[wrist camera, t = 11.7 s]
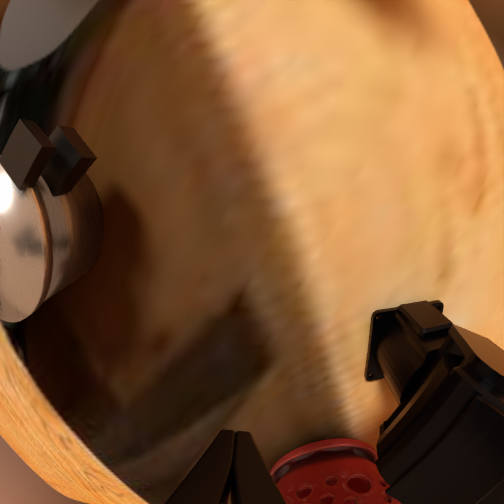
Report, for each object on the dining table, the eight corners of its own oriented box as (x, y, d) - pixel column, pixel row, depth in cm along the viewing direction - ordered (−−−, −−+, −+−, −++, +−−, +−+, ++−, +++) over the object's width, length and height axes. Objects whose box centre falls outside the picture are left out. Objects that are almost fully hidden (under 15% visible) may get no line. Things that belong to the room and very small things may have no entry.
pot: (77, 104, 17) (27, 89, 11) (154, 197, 19) (112, 207, 13) (-23, 282, 21) (-58, 301, 15) (28, 353, 23) (-4, 383, 17)
